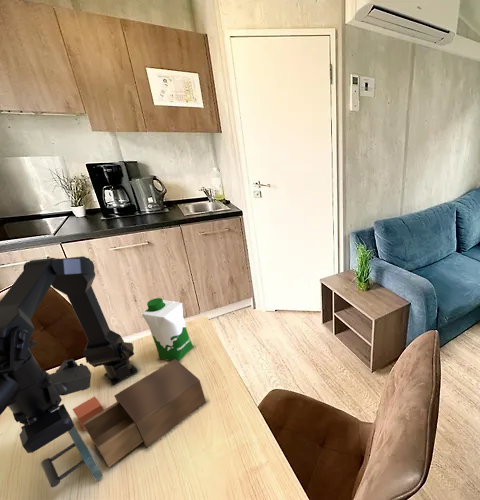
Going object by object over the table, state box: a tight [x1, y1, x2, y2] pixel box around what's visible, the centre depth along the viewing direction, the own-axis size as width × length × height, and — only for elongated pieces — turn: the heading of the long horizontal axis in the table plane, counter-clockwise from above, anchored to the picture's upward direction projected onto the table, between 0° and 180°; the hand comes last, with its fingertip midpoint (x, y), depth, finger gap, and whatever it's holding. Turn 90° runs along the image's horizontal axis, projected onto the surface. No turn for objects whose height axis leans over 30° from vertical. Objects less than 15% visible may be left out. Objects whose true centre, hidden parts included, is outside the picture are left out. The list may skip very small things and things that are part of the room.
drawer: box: [40, 401, 143, 488], centre depth 64 cm, size 19×11×7 cm, turn 145°
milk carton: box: [141, 297, 194, 362], centre depth 90 cm, size 9×9×20 cm
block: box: [72, 396, 104, 432], centre depth 72 cm, size 4×4×4 cm
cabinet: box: [113, 359, 207, 448], centre depth 74 cm, size 15×13×9 cm
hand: (57, 435), depth 59 cm, fingers closed
